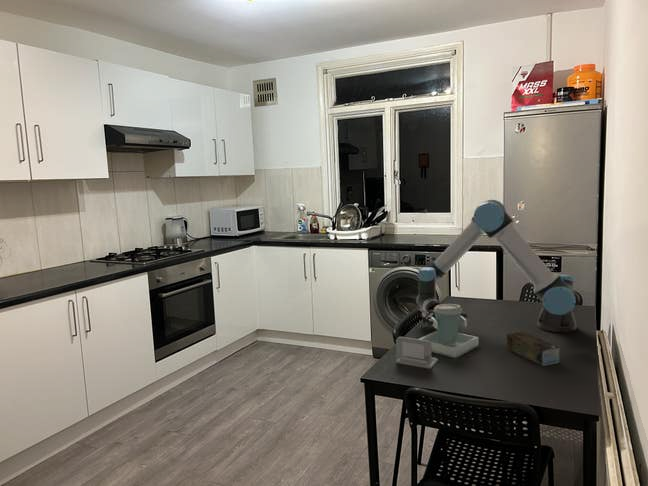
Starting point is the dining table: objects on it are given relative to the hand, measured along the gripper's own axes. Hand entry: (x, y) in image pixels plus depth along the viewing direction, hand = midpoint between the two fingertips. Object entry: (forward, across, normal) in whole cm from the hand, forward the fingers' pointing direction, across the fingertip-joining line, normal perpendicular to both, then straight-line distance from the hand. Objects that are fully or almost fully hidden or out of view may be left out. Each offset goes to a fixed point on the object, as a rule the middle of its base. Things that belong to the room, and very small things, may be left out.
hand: (451, 324), depth 189 cm
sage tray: (-4, 0, -10) cm, 11 cm away
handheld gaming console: (+8, +16, -11) cm, 21 cm away
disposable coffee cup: (-4, 0, -9) cm, 10 cm away
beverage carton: (+11, -27, -11) cm, 31 cm away
